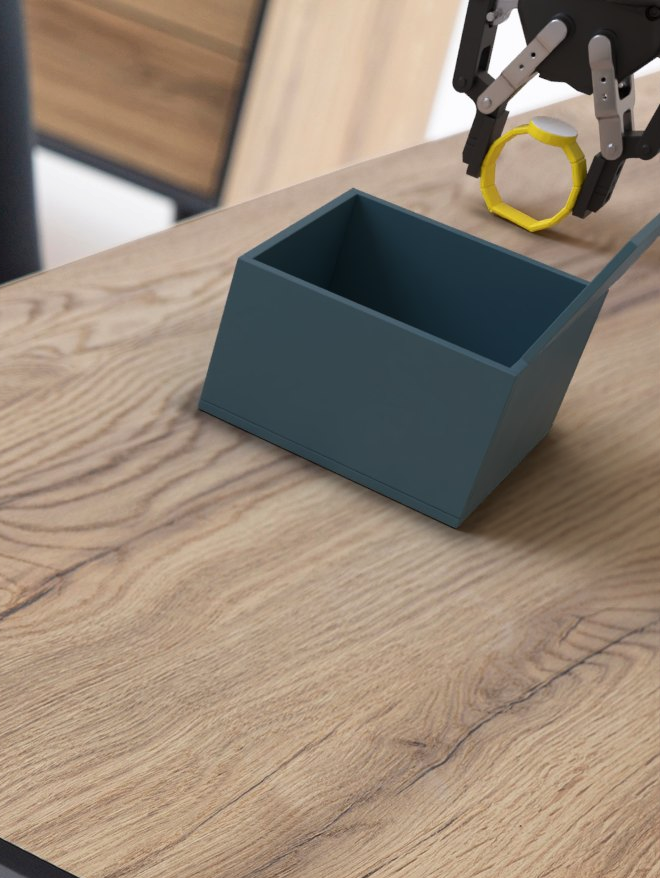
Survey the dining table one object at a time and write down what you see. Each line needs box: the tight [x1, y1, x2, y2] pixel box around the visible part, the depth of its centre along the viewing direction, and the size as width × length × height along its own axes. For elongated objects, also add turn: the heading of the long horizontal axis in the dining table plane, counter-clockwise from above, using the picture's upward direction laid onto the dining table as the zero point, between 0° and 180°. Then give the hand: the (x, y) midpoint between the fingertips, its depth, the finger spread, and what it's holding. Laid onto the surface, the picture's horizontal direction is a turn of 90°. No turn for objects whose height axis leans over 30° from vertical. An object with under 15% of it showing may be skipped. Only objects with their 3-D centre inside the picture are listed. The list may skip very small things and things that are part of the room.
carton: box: [197, 187, 610, 529], centre depth 79 cm, size 13×12×8 cm
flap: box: [521, 212, 660, 364], centre depth 71 cm, size 6×12×1 cm
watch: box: [479, 115, 588, 233], centre depth 101 cm, size 6×3×6 cm, turn 51°
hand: (528, 192), depth 102 cm, fingers closed on watch, 6 cm apart
